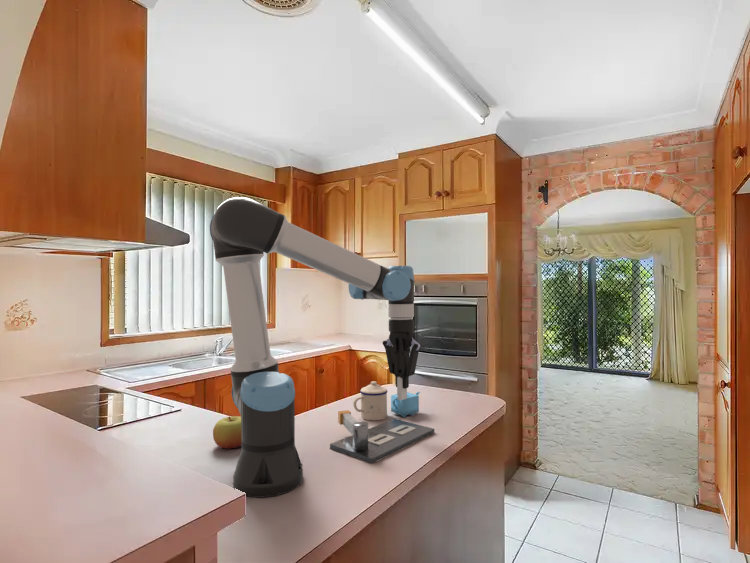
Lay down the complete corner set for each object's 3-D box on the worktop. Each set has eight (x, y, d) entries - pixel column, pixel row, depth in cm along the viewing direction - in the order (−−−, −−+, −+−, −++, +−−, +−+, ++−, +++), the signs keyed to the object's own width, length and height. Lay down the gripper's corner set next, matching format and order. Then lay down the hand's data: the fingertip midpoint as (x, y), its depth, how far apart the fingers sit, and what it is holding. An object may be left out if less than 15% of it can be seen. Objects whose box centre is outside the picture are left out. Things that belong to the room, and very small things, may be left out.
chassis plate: (371, 463, 105) (371, 456, 105) (330, 448, 115) (329, 442, 115) (434, 432, 126) (434, 427, 126) (394, 422, 136) (394, 417, 136)
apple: (213, 441, 121) (212, 413, 121) (248, 437, 124) (248, 409, 124) (212, 454, 111) (212, 423, 112) (251, 449, 115) (251, 419, 115)
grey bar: (370, 448, 110) (370, 425, 110) (355, 451, 109) (355, 427, 109) (349, 427, 127) (349, 406, 127) (336, 428, 126) (336, 408, 126)
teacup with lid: (379, 411, 148) (379, 377, 148) (392, 418, 140) (392, 382, 140) (348, 416, 143) (347, 381, 143) (360, 424, 135) (359, 387, 135)
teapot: (414, 408, 151) (414, 387, 151) (426, 412, 146) (426, 390, 146) (387, 414, 144) (387, 392, 144) (398, 419, 139) (398, 396, 139)
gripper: (427, 318, 124) (427, 399, 124) (392, 316, 132) (392, 392, 132) (411, 320, 118) (412, 405, 118) (376, 318, 127) (377, 397, 127)
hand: (402, 398), depth 125 cm, fingers closed
